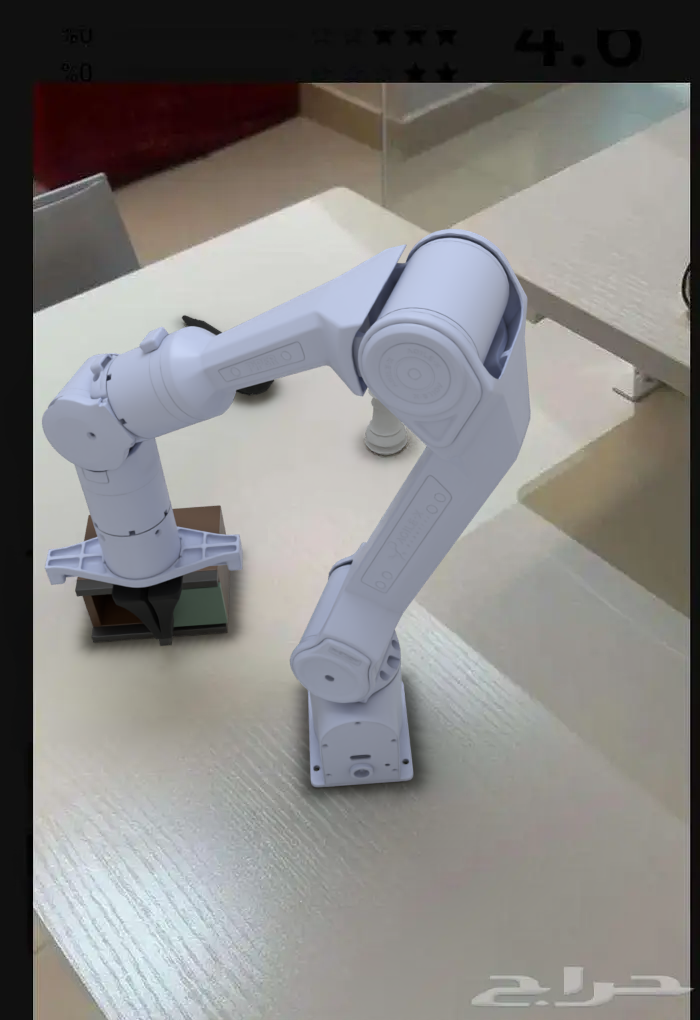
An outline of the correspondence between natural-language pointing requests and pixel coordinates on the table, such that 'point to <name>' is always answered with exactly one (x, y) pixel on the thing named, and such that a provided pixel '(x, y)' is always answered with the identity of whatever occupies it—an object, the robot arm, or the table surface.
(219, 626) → the closet
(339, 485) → the table surface
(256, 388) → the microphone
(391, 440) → the rook chess piece
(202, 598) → the closet door
